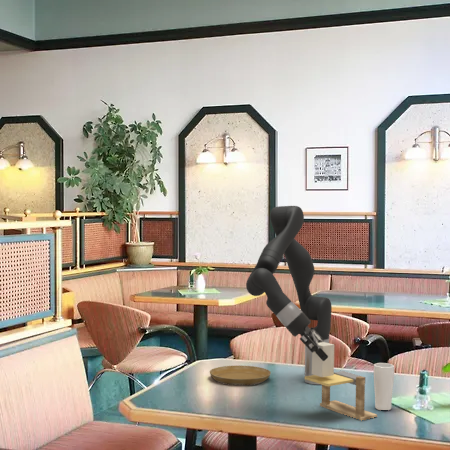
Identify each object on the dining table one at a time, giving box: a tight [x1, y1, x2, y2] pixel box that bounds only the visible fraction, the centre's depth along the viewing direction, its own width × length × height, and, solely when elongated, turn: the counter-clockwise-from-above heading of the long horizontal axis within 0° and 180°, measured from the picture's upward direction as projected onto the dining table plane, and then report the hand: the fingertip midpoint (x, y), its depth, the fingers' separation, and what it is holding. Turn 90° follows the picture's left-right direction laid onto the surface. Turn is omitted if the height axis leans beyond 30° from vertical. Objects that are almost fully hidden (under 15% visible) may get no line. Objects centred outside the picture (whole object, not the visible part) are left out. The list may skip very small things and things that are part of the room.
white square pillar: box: [312, 342, 335, 377], centre depth 233 cm, size 5×5×10 cm
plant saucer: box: [209, 365, 272, 386], centre depth 282 cm, size 24×24×3 cm
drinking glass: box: [373, 362, 395, 411], centre depth 243 cm, size 7×7×15 cm
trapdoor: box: [304, 370, 360, 387], centre depth 236 cm, size 17×11×2 cm
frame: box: [319, 375, 378, 422], centre depth 240 cm, size 7×20×14 cm, turn 34°
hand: (327, 356), depth 233 cm, fingers open, 7 cm apart
